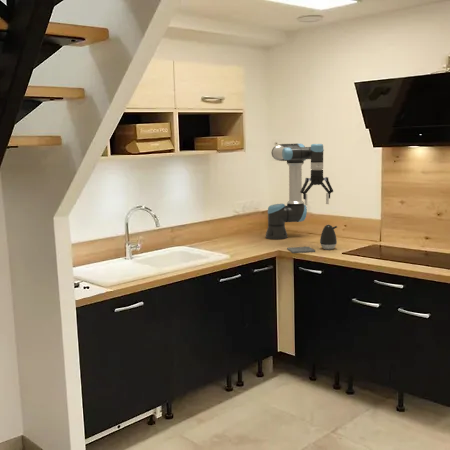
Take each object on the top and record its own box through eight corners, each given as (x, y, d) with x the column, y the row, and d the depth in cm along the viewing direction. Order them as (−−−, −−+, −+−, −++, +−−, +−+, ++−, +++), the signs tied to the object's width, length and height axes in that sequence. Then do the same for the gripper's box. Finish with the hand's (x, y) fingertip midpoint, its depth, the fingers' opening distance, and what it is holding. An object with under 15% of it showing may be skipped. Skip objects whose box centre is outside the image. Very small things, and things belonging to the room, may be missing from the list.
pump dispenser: (336, 250, 354) (337, 225, 351) (319, 250, 356) (319, 225, 353) (337, 247, 363) (337, 223, 361) (320, 247, 366) (320, 223, 363)
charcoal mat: (287, 249, 361) (287, 247, 361) (308, 248, 363) (308, 246, 363) (292, 253, 348) (292, 251, 348) (315, 252, 351) (315, 250, 350)
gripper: (298, 170, 345) (298, 205, 349) (338, 169, 349) (338, 204, 353) (295, 169, 353) (295, 204, 356) (334, 168, 357) (334, 203, 360)
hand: (316, 204), depth 354 cm, fingers open, 13 cm apart
